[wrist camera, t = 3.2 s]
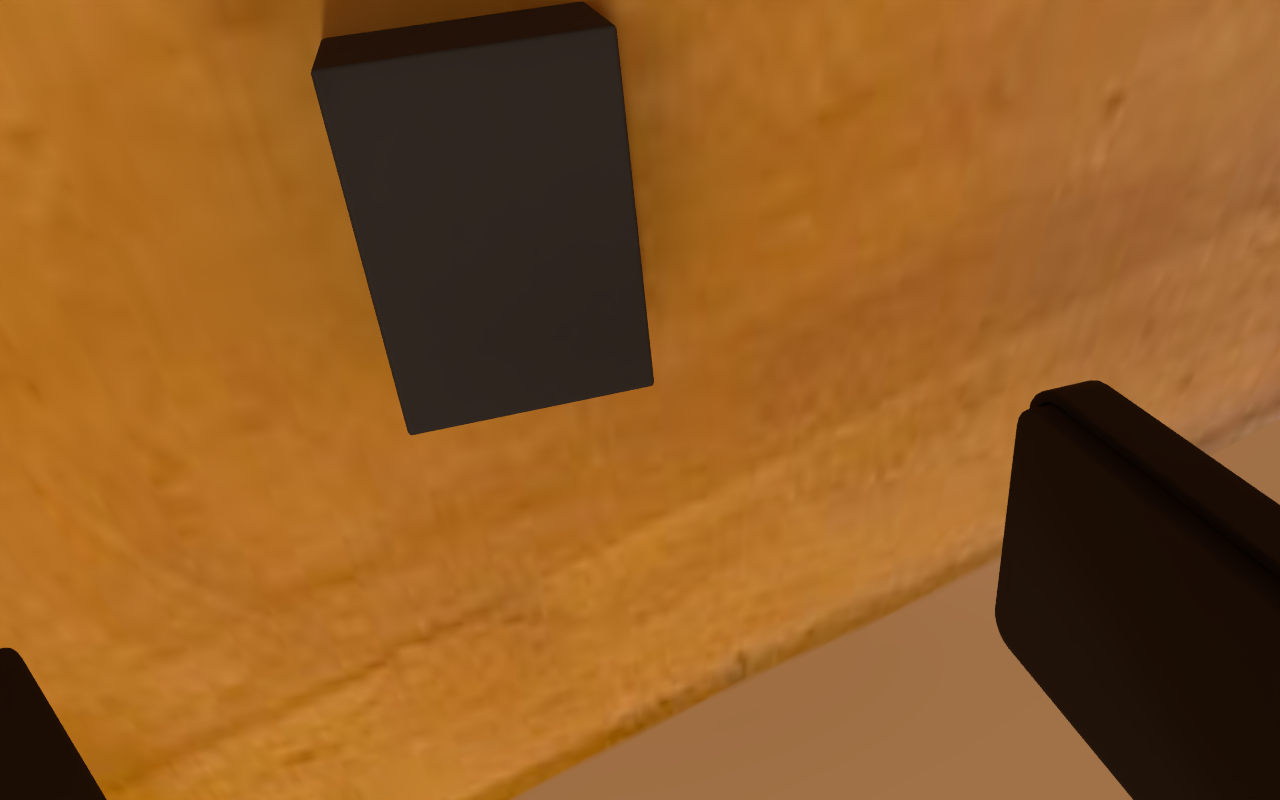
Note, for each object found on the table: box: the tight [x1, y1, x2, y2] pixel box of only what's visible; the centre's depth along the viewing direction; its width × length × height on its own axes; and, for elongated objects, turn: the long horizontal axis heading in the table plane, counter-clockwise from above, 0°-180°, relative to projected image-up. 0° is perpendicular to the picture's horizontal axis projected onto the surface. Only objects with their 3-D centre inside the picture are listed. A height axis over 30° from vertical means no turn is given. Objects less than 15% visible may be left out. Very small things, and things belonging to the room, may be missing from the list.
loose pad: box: [311, 2, 654, 435], centre depth 18 cm, size 5×7×3 cm
